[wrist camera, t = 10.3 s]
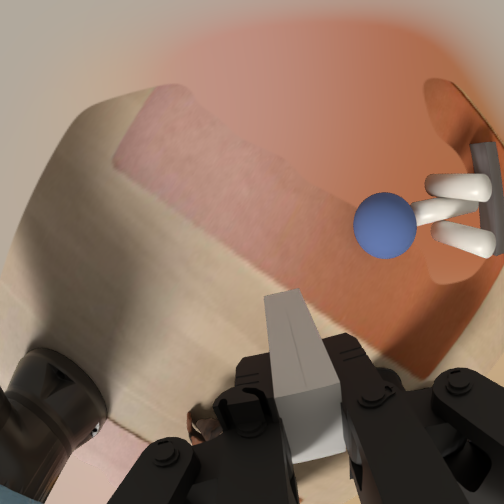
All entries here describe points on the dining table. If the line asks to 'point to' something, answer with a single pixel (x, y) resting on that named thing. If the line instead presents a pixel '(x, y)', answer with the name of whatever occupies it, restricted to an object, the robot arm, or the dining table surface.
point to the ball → (385, 225)
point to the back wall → (498, 206)
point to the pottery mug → (203, 429)
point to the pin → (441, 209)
